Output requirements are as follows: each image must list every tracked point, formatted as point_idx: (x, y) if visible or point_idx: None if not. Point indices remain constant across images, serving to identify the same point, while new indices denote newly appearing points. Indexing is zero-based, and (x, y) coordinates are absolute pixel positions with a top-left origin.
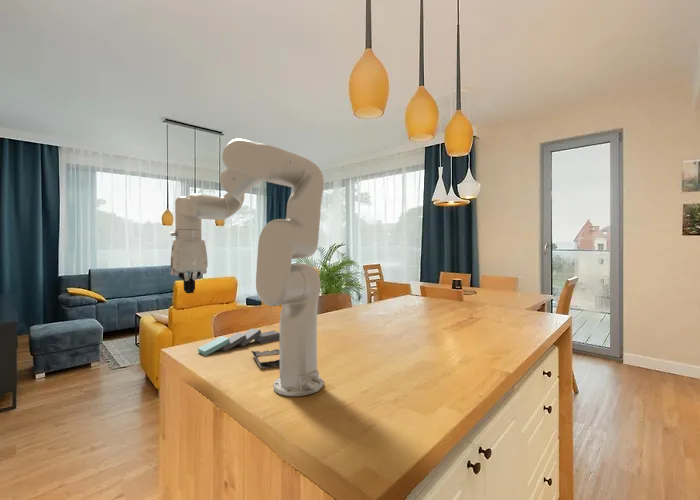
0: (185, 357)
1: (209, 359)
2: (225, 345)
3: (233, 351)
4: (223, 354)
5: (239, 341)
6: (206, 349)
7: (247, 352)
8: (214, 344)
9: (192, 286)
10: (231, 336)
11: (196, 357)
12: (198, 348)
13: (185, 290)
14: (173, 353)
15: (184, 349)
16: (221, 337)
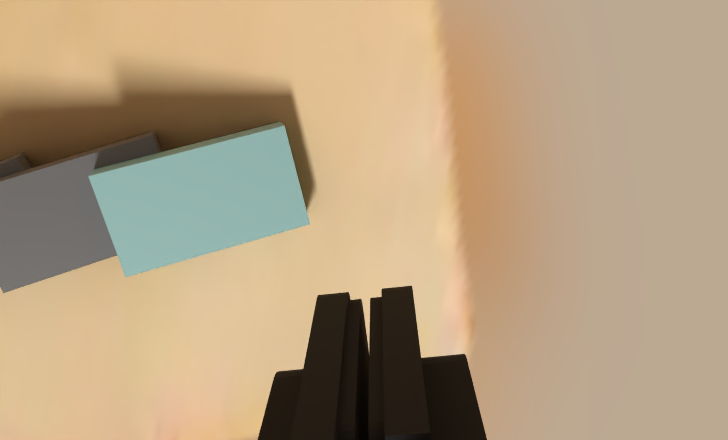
0: (395, 167)
1: (275, 26)
2: (134, 153)
3: (101, 101)
4: (174, 77)
5: (26, 171)
6: (267, 145)
7: (17, 16)
8: (203, 175)
9: (331, 354)
10: (60, 267)
11: (338, 124)
12: (305, 217)
13: (457, 358)
14: (438, 292)
15: (366, 333)
16: (133, 252)
